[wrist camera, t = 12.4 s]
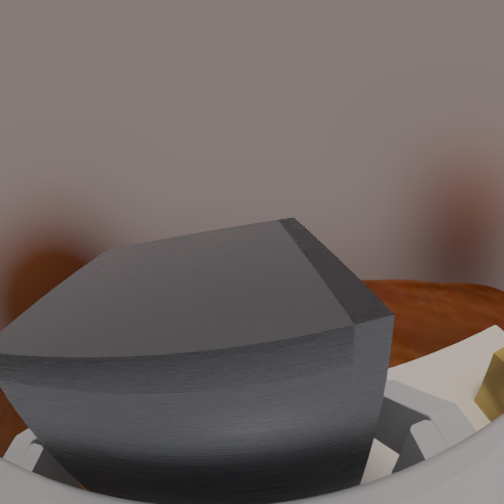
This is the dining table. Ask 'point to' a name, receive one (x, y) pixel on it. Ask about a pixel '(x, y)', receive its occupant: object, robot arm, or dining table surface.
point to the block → (493, 388)
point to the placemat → (442, 386)
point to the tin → (205, 369)
